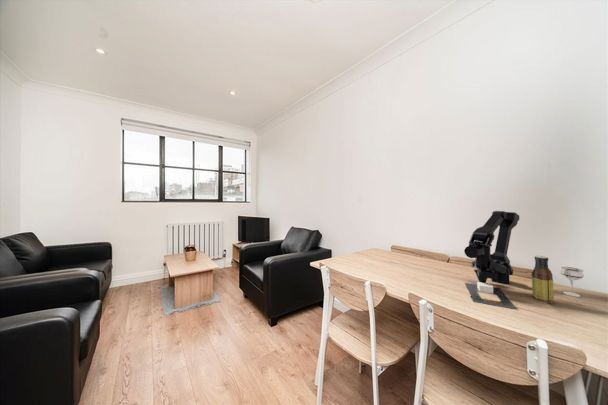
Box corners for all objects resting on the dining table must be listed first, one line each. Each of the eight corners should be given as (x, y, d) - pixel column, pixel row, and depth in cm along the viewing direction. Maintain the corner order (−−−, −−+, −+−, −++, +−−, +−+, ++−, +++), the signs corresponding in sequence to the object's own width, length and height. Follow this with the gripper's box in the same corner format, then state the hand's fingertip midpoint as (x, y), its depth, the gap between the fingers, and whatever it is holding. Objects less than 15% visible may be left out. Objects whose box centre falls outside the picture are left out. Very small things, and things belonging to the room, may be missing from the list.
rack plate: (499, 289, 104) (499, 287, 104) (515, 309, 86) (515, 306, 86) (464, 284, 111) (464, 282, 111) (472, 301, 93) (472, 298, 93)
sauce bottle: (546, 298, 95) (546, 255, 94) (558, 305, 89) (558, 259, 88) (528, 296, 97) (528, 254, 96) (537, 303, 91) (538, 258, 90)
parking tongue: (488, 284, 111) (488, 282, 111) (491, 288, 106) (491, 286, 106) (469, 281, 115) (469, 280, 114) (471, 285, 110) (471, 283, 110)
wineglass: (581, 293, 99) (581, 268, 98) (585, 299, 94) (585, 272, 93) (558, 289, 103) (559, 265, 103) (561, 294, 98) (562, 269, 98)
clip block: (490, 289, 102) (490, 283, 102) (493, 293, 98) (493, 287, 98) (477, 287, 105) (477, 281, 105) (479, 291, 101) (479, 285, 101)
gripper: (511, 262, 93) (511, 297, 93) (498, 252, 109) (498, 282, 109) (479, 259, 98) (479, 292, 98) (471, 250, 114) (471, 278, 115)
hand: (482, 286), depth 105 cm, fingers closed
